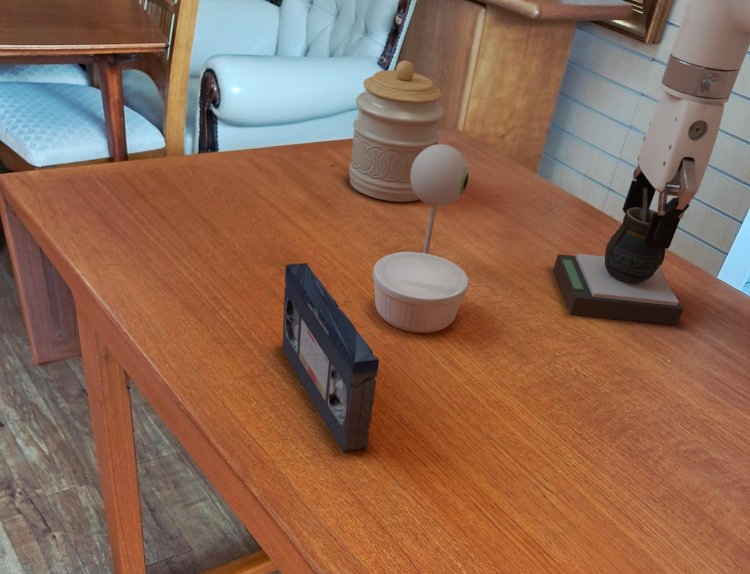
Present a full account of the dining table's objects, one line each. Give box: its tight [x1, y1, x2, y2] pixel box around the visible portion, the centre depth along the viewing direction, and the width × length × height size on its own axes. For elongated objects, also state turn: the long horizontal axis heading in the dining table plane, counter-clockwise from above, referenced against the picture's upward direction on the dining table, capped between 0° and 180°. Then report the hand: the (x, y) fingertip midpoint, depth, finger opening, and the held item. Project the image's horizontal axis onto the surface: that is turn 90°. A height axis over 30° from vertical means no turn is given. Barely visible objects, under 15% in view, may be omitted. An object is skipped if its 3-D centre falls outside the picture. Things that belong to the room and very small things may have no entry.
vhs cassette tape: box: [282, 262, 380, 452], centre depth 76 cm, size 18×3×10 cm, turn 22°
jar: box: [348, 60, 445, 203], centre depth 117 cm, size 13×13×18 cm
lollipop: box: [410, 143, 469, 254], centre depth 100 cm, size 7×7×15 cm
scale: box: [552, 252, 685, 327], centre depth 103 cm, size 14×12×3 cm
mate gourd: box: [604, 188, 666, 284], centre depth 99 cm, size 7×8×10 cm
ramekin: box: [372, 251, 469, 334], centre depth 93 cm, size 11×11×5 cm
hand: (644, 229), depth 98 cm, fingers open, 9 cm apart
